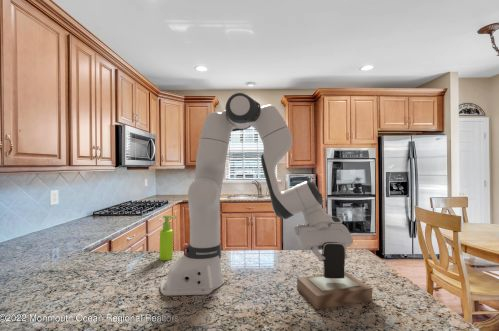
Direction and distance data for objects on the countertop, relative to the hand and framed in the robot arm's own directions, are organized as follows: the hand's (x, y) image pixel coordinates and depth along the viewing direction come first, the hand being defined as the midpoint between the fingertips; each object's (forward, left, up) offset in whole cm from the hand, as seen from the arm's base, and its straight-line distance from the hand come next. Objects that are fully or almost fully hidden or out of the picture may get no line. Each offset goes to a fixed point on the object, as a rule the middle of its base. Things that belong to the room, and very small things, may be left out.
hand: (333, 259), depth 80 cm
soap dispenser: (-56, +51, -12) cm, 76 cm away
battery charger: (0, +1, -6) cm, 6 cm away
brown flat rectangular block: (0, +1, -12) cm, 12 cm away
